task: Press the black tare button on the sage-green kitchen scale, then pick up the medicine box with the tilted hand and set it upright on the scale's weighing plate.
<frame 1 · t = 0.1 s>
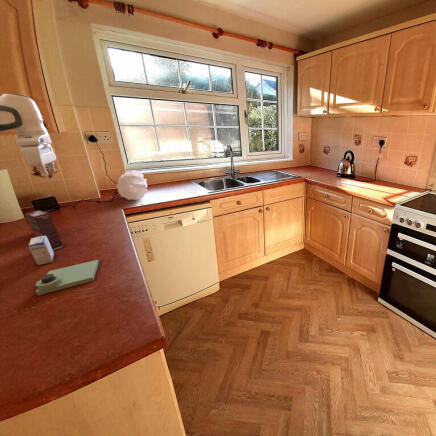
hand: (49, 174, 102), 30 cm above the countertop, tool pointing down, fingers open, 8 cm apart
tare button: (48, 278, 77), point 4 cm above the countertop, slide at 0.1 cm
scale: (71, 277, 83), on the countertop
crumpled paper ball: (136, 197, 174), on the countertop
medicine box: (46, 260, 95), on the countertop
supplement box: (52, 248, 104), on the countertop
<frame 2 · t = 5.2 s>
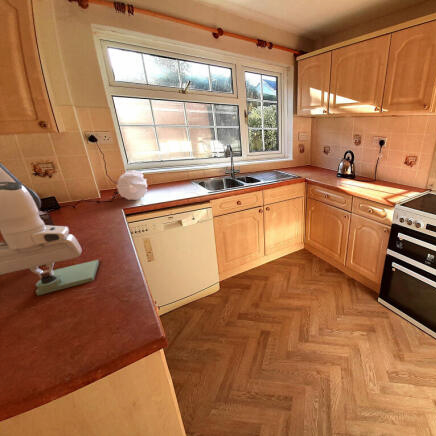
hand: (47, 276, 77), 4 cm above the countertop, tool pointing down, fingers closed, pressing on tare button
tare button: (48, 278, 77), point 3 cm above the countertop, slide at 0.1 cm, touching gripper
everything else where it was.
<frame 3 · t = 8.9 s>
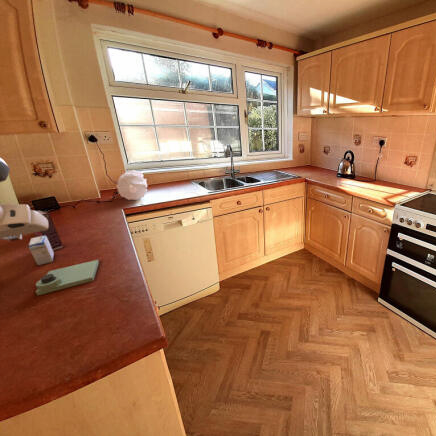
hand: (16, 238, 79), 15 cm above the countertop, tool tilted 45°, fingers closed
tare button: (48, 278, 77), point 4 cm above the countertop, slide at 0.1 cm
everything else where it was.
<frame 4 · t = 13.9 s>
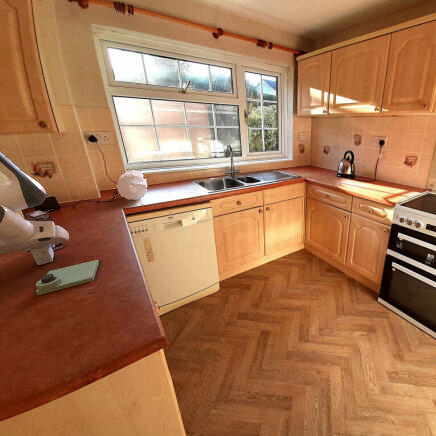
hand: (41, 247, 94), 5 cm above the countertop, tool tilted 45°, fingers closed on medicine box, 5 cm apart
medicine box: (46, 260, 95), on the countertop, touching gripper
everything else where it was.
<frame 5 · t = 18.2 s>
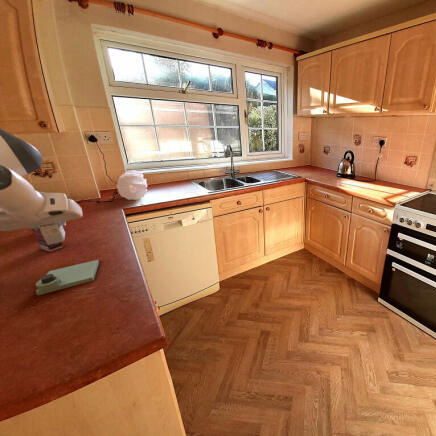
hand: (51, 226, 83), 17 cm above the countertop, tool tilted 45°, fingers closed on medicine box, 5 cm apart
medicine box: (57, 240, 85), point 12 cm above the countertop, touching gripper
everything else where it was.
when the fingers open (6 cm above the countertop, at t = 22.5 s): medicine box stays where it is, resting on scale.
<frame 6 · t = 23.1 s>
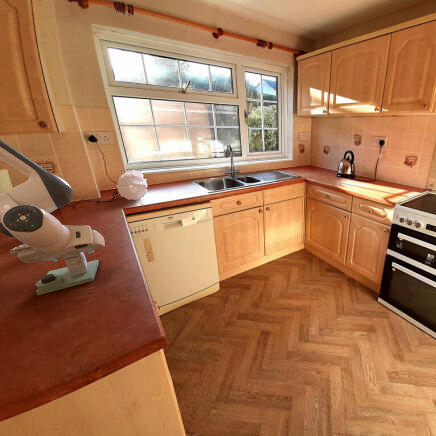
hand: (74, 255, 83), 7 cm above the countertop, tool tilted 45°, fingers open, 8 cm apart
medicine box: (80, 270, 85), point 1 cm above the countertop, touching scale
everything else where it was.
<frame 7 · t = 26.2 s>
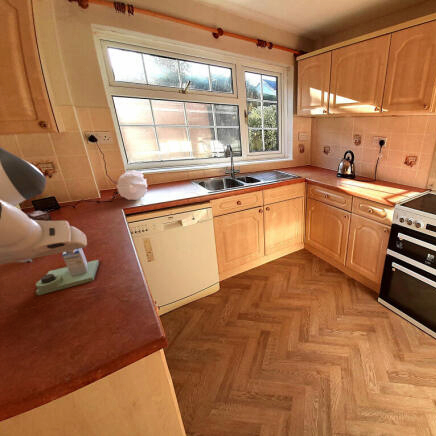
hand: (50, 255, 71), 13 cm above the countertop, tool tilted 45°, fingers open, 8 cm apart
nothing on the countertop moved.
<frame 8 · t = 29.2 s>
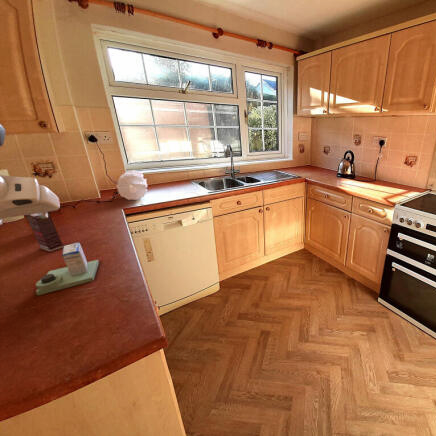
hand: (22, 219, 68), 24 cm above the countertop, tool tilted 45°, fingers open, 8 cm apart
nothing on the countertop moved.
at the end: tare button pushed in 0.9 cm at the most during the clip, back to where it started at the end; medicine box inside the target area on the scale (0.7 cm from its centre), point 1.2 cm above the scale's base; medicine box touching scale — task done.
